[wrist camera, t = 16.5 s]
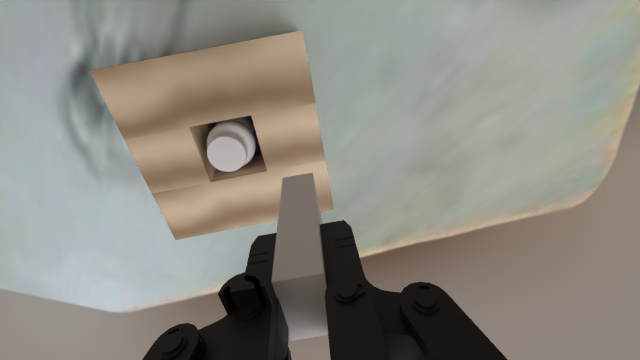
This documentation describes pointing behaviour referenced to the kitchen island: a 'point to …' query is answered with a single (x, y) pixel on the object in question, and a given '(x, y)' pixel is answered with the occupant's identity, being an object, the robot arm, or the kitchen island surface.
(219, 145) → the pill bottle
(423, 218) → the kitchen island surface
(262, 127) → the socket block
